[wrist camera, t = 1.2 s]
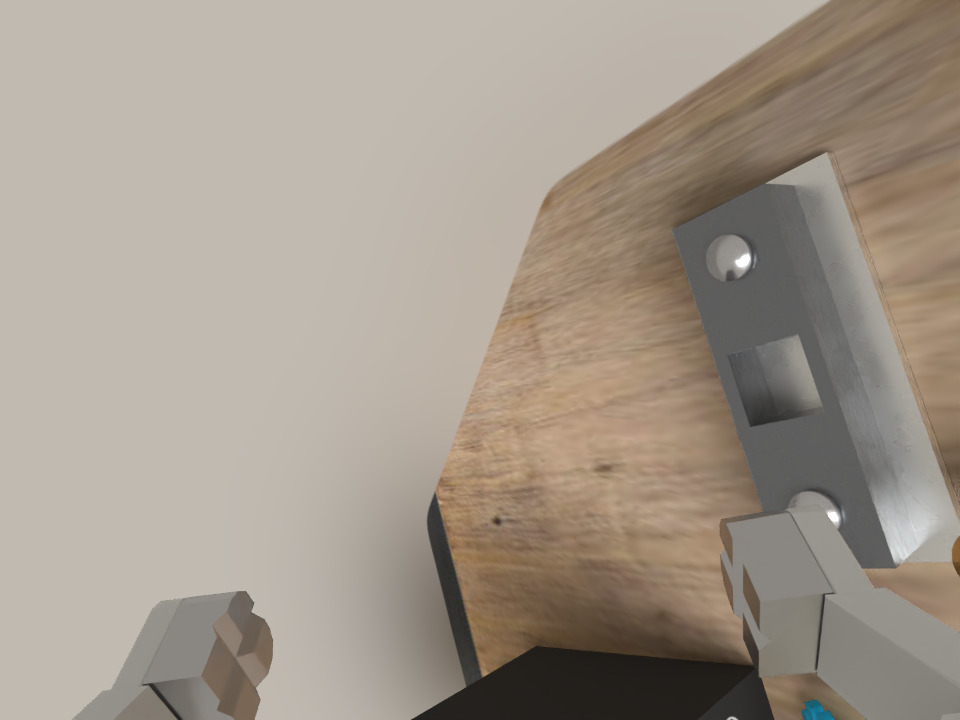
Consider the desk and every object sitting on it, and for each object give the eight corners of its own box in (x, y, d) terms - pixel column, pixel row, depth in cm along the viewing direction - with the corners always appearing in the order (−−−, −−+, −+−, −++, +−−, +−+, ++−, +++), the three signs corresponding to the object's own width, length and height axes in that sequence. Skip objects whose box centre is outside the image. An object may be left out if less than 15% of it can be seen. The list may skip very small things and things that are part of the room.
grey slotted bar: (679, 230, 51) (635, 231, 47) (833, 152, 41) (792, 147, 38) (786, 559, 48) (747, 586, 44) (977, 555, 38) (948, 590, 35)
